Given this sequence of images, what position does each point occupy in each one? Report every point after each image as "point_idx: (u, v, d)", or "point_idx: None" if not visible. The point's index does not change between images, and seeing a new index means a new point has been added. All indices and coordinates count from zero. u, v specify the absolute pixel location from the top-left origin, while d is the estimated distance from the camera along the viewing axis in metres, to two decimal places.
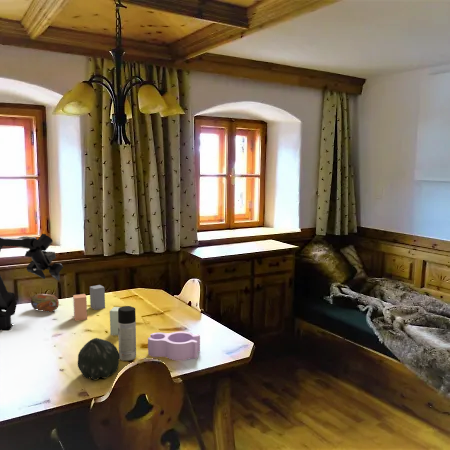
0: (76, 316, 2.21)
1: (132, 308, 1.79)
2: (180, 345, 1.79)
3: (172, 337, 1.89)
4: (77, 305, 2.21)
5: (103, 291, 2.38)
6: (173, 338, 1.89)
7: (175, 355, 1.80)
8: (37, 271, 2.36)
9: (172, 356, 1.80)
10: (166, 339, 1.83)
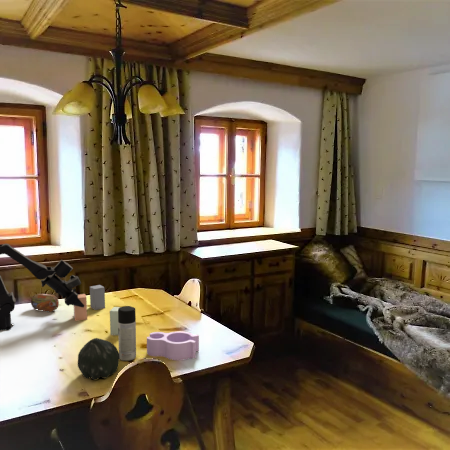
0: (76, 316, 2.21)
1: (132, 308, 1.79)
2: (178, 345, 1.79)
3: (171, 337, 1.89)
4: None
5: (103, 291, 2.38)
6: (172, 338, 1.89)
7: (173, 355, 1.80)
8: None
9: (170, 356, 1.81)
10: (165, 339, 1.83)
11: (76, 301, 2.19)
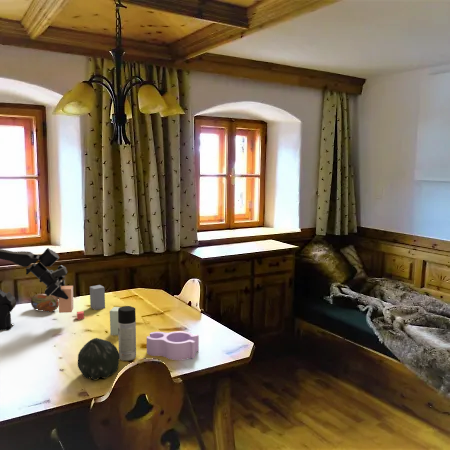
0: (60, 308, 2.12)
1: (132, 308, 1.79)
2: (177, 345, 1.79)
3: (171, 336, 1.89)
4: None
5: (103, 291, 2.38)
6: (172, 337, 1.89)
7: (172, 355, 1.80)
8: None
9: (169, 355, 1.81)
10: (164, 338, 1.84)
11: (59, 292, 2.10)
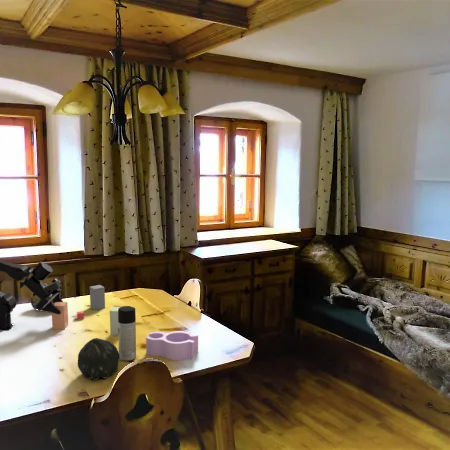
0: (53, 325, 2.10)
1: (132, 308, 1.79)
2: (177, 345, 1.79)
3: (170, 336, 1.89)
4: None
5: (103, 291, 2.38)
6: (171, 337, 1.90)
7: (172, 355, 1.80)
8: (54, 300, 2.16)
9: (169, 355, 1.81)
10: (164, 338, 1.84)
11: (51, 307, 2.07)
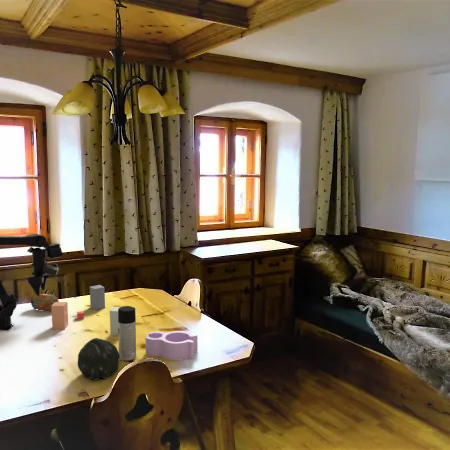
0: (53, 325, 2.10)
1: (132, 308, 1.79)
2: (176, 345, 1.79)
3: (170, 336, 1.89)
4: (55, 313, 2.09)
5: (103, 291, 2.38)
6: (171, 337, 1.90)
7: (171, 354, 1.80)
8: None
9: (168, 355, 1.81)
10: (163, 338, 1.84)
11: (36, 286, 2.15)
